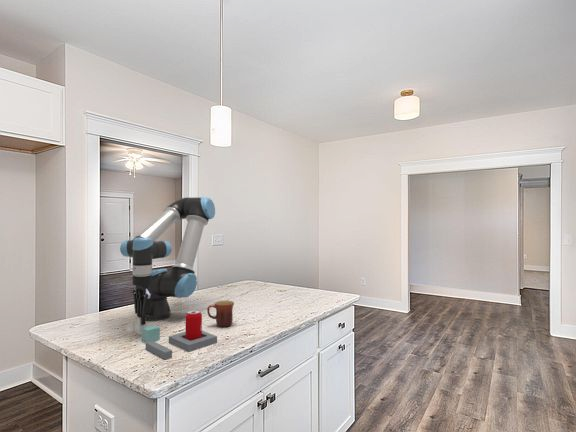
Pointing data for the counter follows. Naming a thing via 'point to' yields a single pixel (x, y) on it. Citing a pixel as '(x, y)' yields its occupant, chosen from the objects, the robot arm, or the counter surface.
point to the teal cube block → (150, 333)
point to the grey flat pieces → (181, 344)
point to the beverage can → (193, 325)
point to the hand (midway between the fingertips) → (141, 332)
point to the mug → (222, 313)
